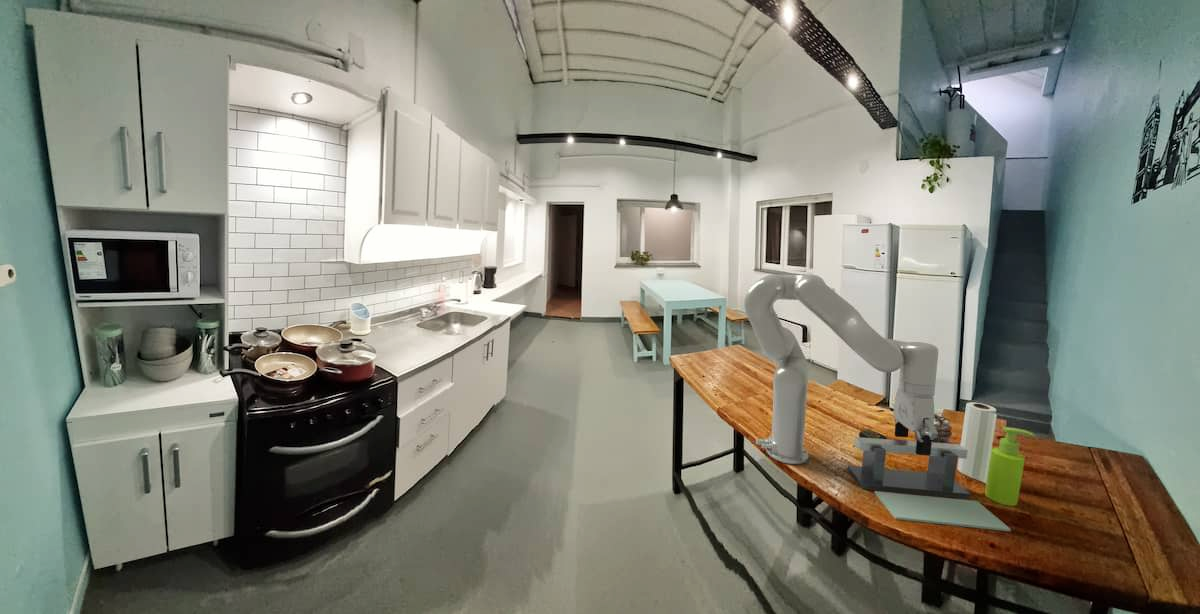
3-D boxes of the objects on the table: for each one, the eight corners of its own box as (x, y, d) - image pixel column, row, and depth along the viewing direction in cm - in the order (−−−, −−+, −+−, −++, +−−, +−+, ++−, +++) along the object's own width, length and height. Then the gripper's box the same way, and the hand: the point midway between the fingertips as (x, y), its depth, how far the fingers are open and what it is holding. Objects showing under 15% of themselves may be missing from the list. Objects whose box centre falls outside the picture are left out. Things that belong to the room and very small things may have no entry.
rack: (861, 488, 103) (865, 451, 102) (847, 469, 112) (850, 435, 110) (970, 499, 98) (976, 459, 96) (946, 478, 107) (951, 442, 105)
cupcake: (923, 433, 132) (926, 407, 130) (956, 447, 123) (960, 419, 121) (905, 438, 129) (908, 412, 127) (937, 452, 120) (941, 424, 118)
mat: (895, 519, 92) (895, 516, 92) (874, 493, 101) (874, 491, 101) (1010, 531, 87) (1010, 529, 87) (976, 503, 97) (977, 501, 96)
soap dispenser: (1027, 510, 94) (1039, 437, 90) (989, 501, 97) (1000, 431, 94) (1017, 496, 98) (1029, 427, 95) (981, 488, 102) (991, 421, 99)
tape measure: (888, 446, 125) (889, 436, 124) (873, 450, 123) (874, 439, 122) (868, 437, 131) (869, 427, 130) (853, 440, 129) (854, 430, 128)
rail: (859, 450, 105) (860, 442, 104) (854, 444, 108) (855, 437, 107) (966, 458, 99) (967, 450, 99) (958, 452, 102) (959, 444, 102)
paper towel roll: (957, 465, 113) (966, 399, 110) (985, 473, 109) (996, 405, 105) (956, 475, 108) (966, 407, 105) (986, 484, 104) (997, 413, 100)
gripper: (883, 376, 110) (879, 429, 112) (921, 399, 93) (915, 461, 95) (912, 377, 108) (907, 431, 110) (955, 400, 91) (949, 463, 94)
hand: (911, 445), depth 103 cm, fingers open, 9 cm apart
